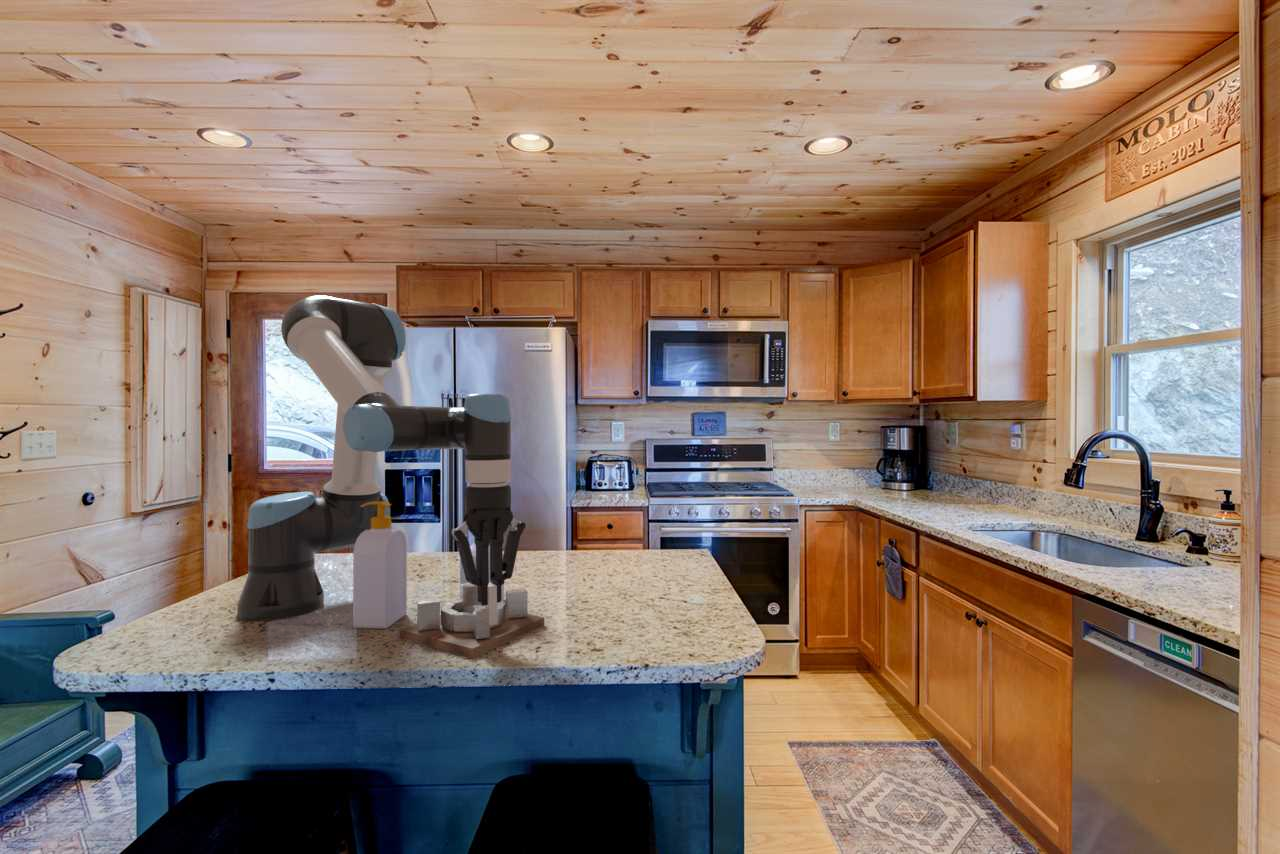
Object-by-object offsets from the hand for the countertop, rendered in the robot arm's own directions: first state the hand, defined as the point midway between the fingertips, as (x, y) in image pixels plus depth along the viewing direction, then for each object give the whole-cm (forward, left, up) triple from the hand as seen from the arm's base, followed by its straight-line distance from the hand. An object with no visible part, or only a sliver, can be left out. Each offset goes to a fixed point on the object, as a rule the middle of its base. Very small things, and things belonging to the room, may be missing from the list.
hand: (489, 622), depth 100 cm
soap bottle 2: (-19, +18, -4) cm, 27 cm away
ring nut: (-7, +4, -2) cm, 9 cm away
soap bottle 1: (-27, -1, -4) cm, 28 cm away
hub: (-7, +4, -4) cm, 9 cm away
